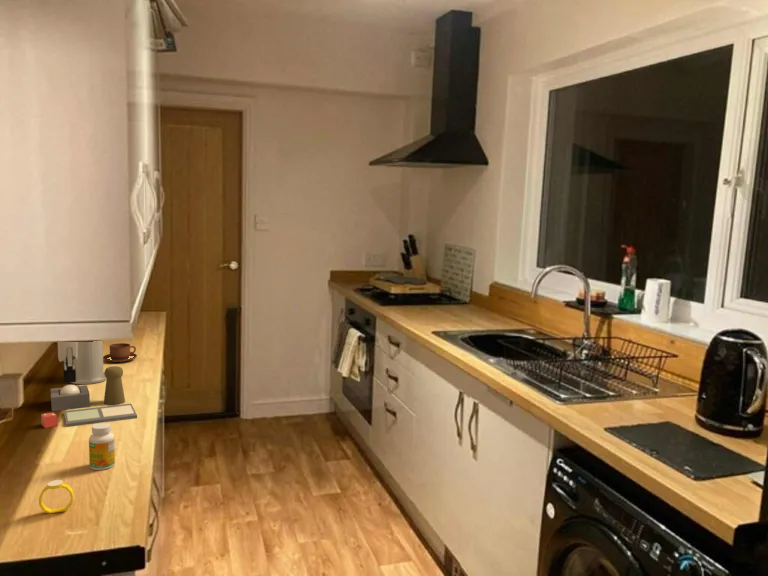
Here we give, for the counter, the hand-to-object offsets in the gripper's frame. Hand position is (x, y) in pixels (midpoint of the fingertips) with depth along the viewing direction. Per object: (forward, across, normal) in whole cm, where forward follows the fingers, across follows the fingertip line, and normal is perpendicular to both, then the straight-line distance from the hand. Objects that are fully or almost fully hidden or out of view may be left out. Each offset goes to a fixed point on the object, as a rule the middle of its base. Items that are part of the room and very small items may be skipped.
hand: (69, 381), depth 192 cm
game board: (+6, +16, +7) cm, 18 cm away
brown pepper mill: (+7, +4, +12) cm, 14 cm away
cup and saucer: (+8, -51, +20) cm, 55 cm away
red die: (+6, +19, -6) cm, 21 cm away
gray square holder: (+7, +1, 0) cm, 7 cm away
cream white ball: (+6, +1, 0) cm, 6 cm away
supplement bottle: (+6, +54, +4) cm, 54 cm away
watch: (+5, +74, -6) cm, 74 cm away
